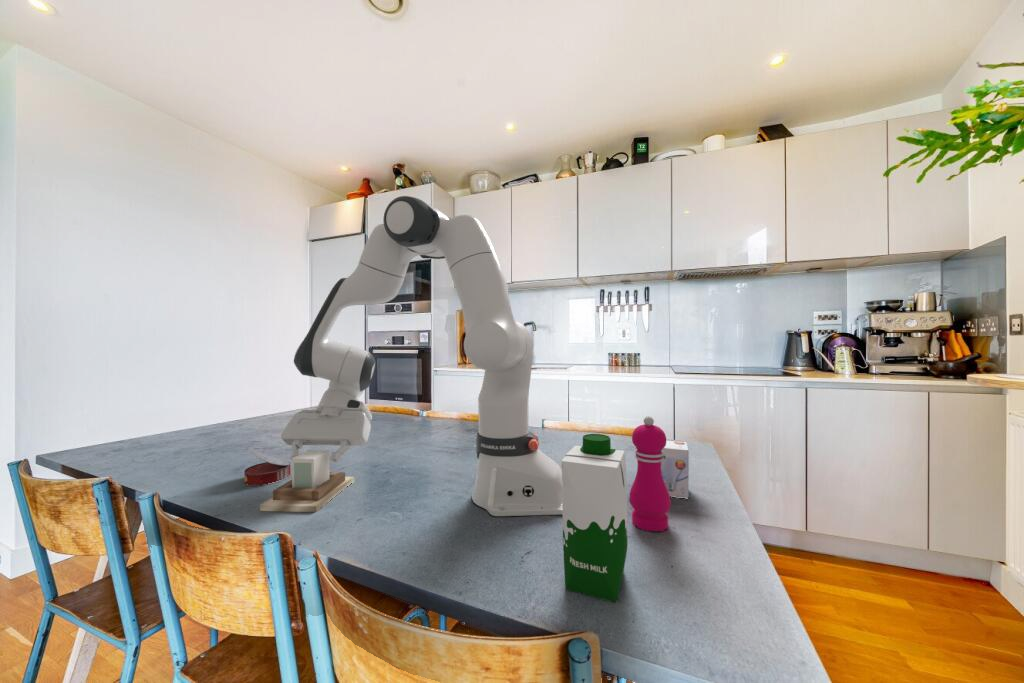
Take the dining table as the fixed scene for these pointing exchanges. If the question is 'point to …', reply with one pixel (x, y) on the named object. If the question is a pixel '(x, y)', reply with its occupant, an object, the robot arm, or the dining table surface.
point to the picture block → (310, 469)
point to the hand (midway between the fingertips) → (314, 460)
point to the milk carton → (594, 517)
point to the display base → (306, 495)
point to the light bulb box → (676, 468)
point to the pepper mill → (649, 479)
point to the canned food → (266, 469)
